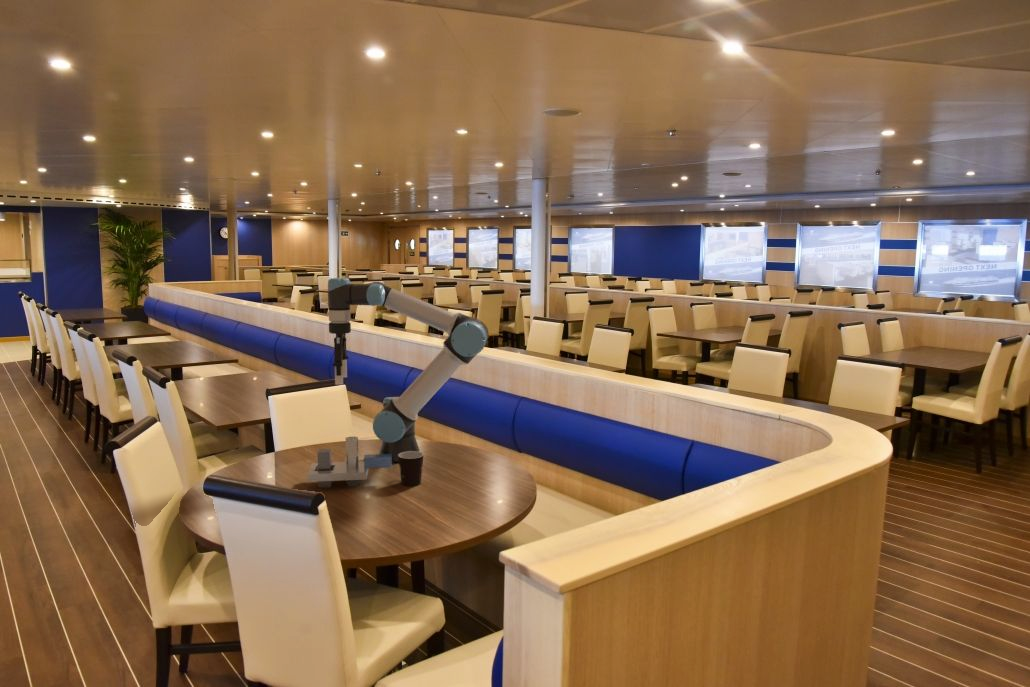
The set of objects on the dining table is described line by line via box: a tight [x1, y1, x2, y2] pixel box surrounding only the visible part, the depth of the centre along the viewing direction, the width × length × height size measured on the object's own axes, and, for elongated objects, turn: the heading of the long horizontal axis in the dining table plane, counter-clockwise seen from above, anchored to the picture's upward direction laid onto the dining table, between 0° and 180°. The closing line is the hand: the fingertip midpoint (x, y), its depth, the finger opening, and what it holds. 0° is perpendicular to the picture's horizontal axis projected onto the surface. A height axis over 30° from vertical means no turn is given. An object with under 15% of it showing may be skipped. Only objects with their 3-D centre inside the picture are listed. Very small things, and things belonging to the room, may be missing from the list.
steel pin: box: [316, 448, 333, 488], centre depth 234 cm, size 4×4×12 cm
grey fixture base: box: [306, 436, 393, 487], centre depth 235 cm, size 27×12×16 cm, turn 98°
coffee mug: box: [398, 451, 425, 488], centre depth 238 cm, size 12×9×10 cm
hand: (341, 380), depth 251 cm, fingers open, 13 cm apart
